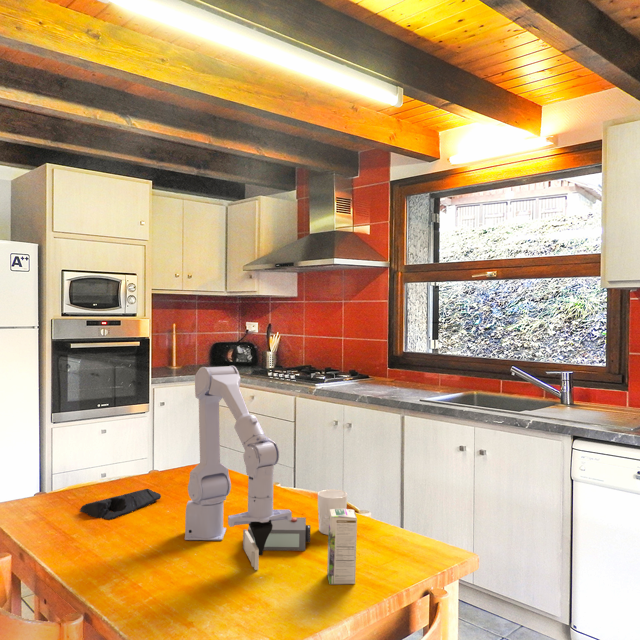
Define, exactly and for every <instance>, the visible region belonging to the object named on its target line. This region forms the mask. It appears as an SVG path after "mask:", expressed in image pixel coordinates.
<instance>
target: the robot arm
mask: <svg viewBox="0 0 640 640" xmlns="http://www.w3.org/2000/svg"><path fill="white" fill-rule="evenodd" d="M240 387H241V375H240V372H239V370H238V368H237V367H236V366H235V365H229V366H226V365H225V366H207V367H206V366H201V367H200V368H199V369H198V370H197V371H196V373H195V375H194V391H195V392H194V393H195V395H194V396H195V398H196V399H198V429H199V433H198V434H199V438H198V440H199V463H198V464H197V465H196V466H195V467H194V468H193V469H191V471H190V472H189V481H188V485H187V493H188V496H189V499H191V500H188V501H187V503H186V507H185V529H184V530H185V531H184V534H185V535H184V540H185V541H222V540H224V536H225V535H226V531H227V527H224V501H226V500H227V496H229V494H230V493H231V489H232V483H231V478H230V474H229V468H228V467H227V466H225V465H224V464H222V463H221V445H220V444H221V443H220V442H221V441H220V440H221V439H220V401H221V400H222V399H223V400H224V403H225V404H226V406H227V408H228V409H229V411H230V413H231V414H232V416H233V418H234V419H235V423H234V430H235V432H236V434H237V437H238V439H239V441H240V443H241V446H242V447H243V449H244V452H243V454H242V455H243V456H242V457H243V463H244V464H245V473H246V475H247V476H248V485H247V487H248V488H247V494H248V495H247V511H244V512H241V513H237V514H231V515H228V518H227V524H228V526H229V527H235V526H240V525H248V527H249V526H250V528H251V530H252V533H253V536H254V539H255V543H256V546H257V547H258V549H259V556H263V553H264V551H265V550H264V546H265V543H266V540H267V538H268V536H269V534H270V532H271V530H272V527H273V525H272V523H271V521H278V520H292V517H293V516H292V515H293V514H292V513H293V512H292V511H291V510H290V509H274V472H275V471H274V470H275V469H274V466H276V465H277V464H278V462H279V459H280V451H279V447H278V445H277V443H276V442H275V441H274V440H272V439H271V438H270V437H269V436H266V433H265V431H264V429H263V428H262V426H261V424H260V422H259V420H258V417H257V416H256V415H254V414H250V412H249V409H248V407H247V405H246V402H245V399H244V397H243V394H242V392H241V389H240Z"/></svg>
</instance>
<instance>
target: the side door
mask: <svg viewBox="0 0 640 640" xmlns="http://www.w3.org/2000/svg"><path fill="white" fill-rule="evenodd" d="M242 531H243V534H242V541H243V542H242V550H244V552H245V555H246V556H247V558H248V560H249V561H250V565H251V567H252V568H253V570H254V571H259V565H260V564H259V562H260V561H259V557H260V555H259V549H258V547H257V546H256V544H255V542H254V541H253V539H252V537H251V536H250V534H249V532H248V529H245V528H244V529H243V530H242Z"/></svg>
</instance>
